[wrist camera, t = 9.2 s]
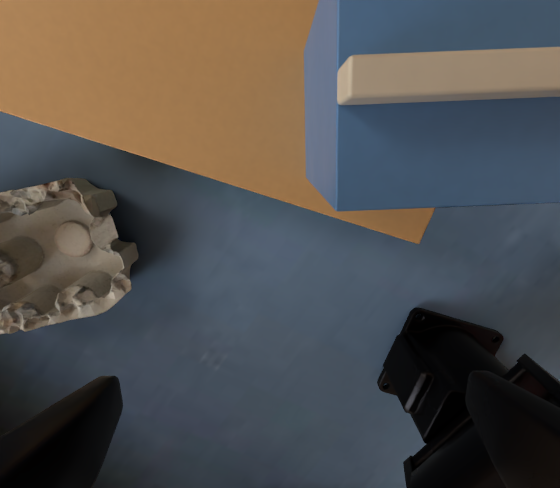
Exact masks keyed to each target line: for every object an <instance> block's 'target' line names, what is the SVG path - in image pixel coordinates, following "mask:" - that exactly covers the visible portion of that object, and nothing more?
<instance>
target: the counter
mask: <svg viewBox="0 0 560 488" xmlns="http://www.w3.org/2000/svg"><path fill="white" fill-rule="evenodd" d="M318 2H319V0H0V111H1V112H4V113H7V114H10V115H14V116H17V117H20V118H23V119H26V120H29V121H32V122H36V123H39V124H42V125H45V126H48V127H51V128H54V129H58V130H61V131H64V132H67V133H70V134H73V135H76V136H80V137H83V138H86V139H89V140H92V141H95V142H98V143H102V144H105V145H108V146H111V147H114V148H117V149H120V150H124V151H127V152H130V153H133V154H136V155H139V156H143V157H146V158H149V159H152V160H155V161H158V162H161V163H165V164H168V165H171V166H174V167H177V168H180V169H183V170H187V171H190V172H193V173H196V174H199V175H202V176H205V177H209V178H212V179H215V180H218V181H221V182H224V183H227V184H231V185H234V186H237V187H240V188H243V189H246V190H249V191H253V192H256V193H259V194H262V195H265V196H268V197H272V198H275V199H278V200H281V201H284V202H287V203H290V204H294V205H297V206H300V207H303V208H306V209H309V210H312V211H316V212H319V213H322V214H325V215H328V216H331V217H334V218H338V219H341V220H344V221H347V222H350V223H353V224H356V225H360V226H363V227H366V228H369V229H372V230H375V231H378V232H382V233H385V234H388V235H391V236H394V237H397V238H400V239H404V240H407V241H410V242H413V243H416V244H419V243H420V241H421V239H422V236H423V234H424V232H425V230H426V227H427V225H428V223H429V221H430V219H431V216H432V214H433V212H434V210H435V208H414V209H389V210H364V211H340V212H337V211H335V209H334V208H333V207H332V206H331V205H330V204H329V203H328V202H327V201H326V199H325V198H324V197H323V196H322V195H321V194H320V193H319V192H318V190H317V189H316V188H315V187H314V186H313V185H312V184H311V183H310V182H309V180H308V179H307V178H306V153H305V93H304V49H305V45H306V42H307V39H308V35H309V32H310V29H311V25H312V22H313V19H314V15H315V12H316V9H317V5H318Z"/></svg>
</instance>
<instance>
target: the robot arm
mask: <svg viewBox="0 0 560 488" xmlns="http://www.w3.org/2000/svg"><path fill="white" fill-rule="evenodd" d="M418 314H421V316H420V317H418V318H416V316H417V315H418ZM495 336H496V337H495ZM493 337H495V339H493V340H492V338H493ZM502 342H503V336H502V335H501V334H500V333H499V332H498V331H496V330H493V329H490V328H486V327H483V326H480V325H476V324H473V323H470V322H466V321H463V320H460V319H456V318H453V317H449V316H446V315H443V314H439V313H436V312H433V311H429V310H426V309H423V308H414V309H413V310H411V312H410V314H409V316H408V318H407V320H406V322H405V324H404V326H403V328H402V330H401V333H400V334H399V335H398V336H397V337H396V339H395V341H394V343H393V345H392V347H391V350H390V352H389V354H388V356H387V358H386V360H385V362H384V364H383V367H384V368H383V371H382V373H381V375H380V377H379V379H378V382H377V383H378V386H379V389H380V390H381V391H383V392H386V393H390V394H393V395H397V396H398V398H399V400H400V402H401V404H402V406H403V409H404V411H405V412H406V413H410V414H411V416H412V418H413V420H414V422H415V424H416V426H417V428H418V430H419V432H420V434H421V436H422V438H423V440H424V442H425V443H427V444H426V445H425V446H424V447H423V448H422V449H421V450H420V451H419V452H418V453H416V454H415V455H414V456H413V457H412V456H410V457H409V458H407V459H406V460H405V461H404V462H403V464H404V472H405V480H406V487H407V488H560V381H558V380H557V379H556V378H555V377H553V376H552V375H551V374H550V373H548V372H547V371H546V370H545V369H543V368H542V367H541V366H540V365H538V364H537V363H536V362H535V361H533V360H532V359H531V358H530V357H528V356H527V355H526V354H523V355H522V356H521V357H520V358H519V359H518V360H517V362H518V363H517V364H516V365H515V366H514V367H513V368H511V369H510V370H508V369H507V368H506V367H505V366H504V365H503V364H502V363H501V362H500V361H499V360H498V359H497V358H496V357H495V354H496V352H497V350H498V349H499V347H500V345H501V343H502ZM384 383H388V384H387V385H383V384H384ZM122 408H123V401H122V395H121V389H120V383H119V379H118V378H117V377H116V376H100V377H98V378H96V379H95V380H93V381H91V382H90V383H88V384H86V385H85V386H83V387H81V388H80V389H78V390H77V391H75V392H73V393H72V394H70V395H68V396H67V397H65V398H63V399H62V400H60V401H58V402H57V403H55V404H53V405H52V406H50V407H49V408H47V409H45V410H44V411H42V412H40V413H39V414H37V415H35V416H34V417H32V418H30V419H29V420H27V421H25V422H24V423H22V424H20V425H19V426H17V427H16V428H14V429H12V430H11V431H9V432H7V433H6V434H4V435H2V436H1V437H0V488H93V486H94V483H95V481H96V479H97V477H98V474H99V472H100V469H101V467H102V464H103V462H104V459H105V456H106V453H107V451H108V448H109V445H110V443H111V440H112V437H113V434H114V432H115V429H116V426H117V424H118V421H119V418H120V415H121V412H122Z"/></svg>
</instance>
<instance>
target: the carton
mask: <svg viewBox="0 0 560 488" xmlns="http://www.w3.org/2000/svg"><path fill="white" fill-rule="evenodd" d="M304 93H305V153H306V178H307V179H308V180H309V182H310V183H311V184H312V185H313V186H314V187H315V188H316V189H317V190H318V192H319V193H320V194H321V195H322V196H323V197H324V198H325V199H326V201H327V202H328V203H329V204H330V205H331V206H332V207H333V208H334V209H335V211H337V212H340V211H364V210H389V209H414V208H439V207H464V206H489V205H514V204H538V203H560V0H319V2H318V5H317V9H316V12H315V15H314V19H313V22H312V25H311V29H310V32H309V35H308V39H307V42H306V45H305V49H304Z"/></svg>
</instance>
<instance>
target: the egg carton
mask: <svg viewBox="0 0 560 488" xmlns="http://www.w3.org/2000/svg"><path fill="white" fill-rule="evenodd" d="M116 206H117V201H116V199H115V195H114V193H113V192H112V190H104V189H98V188H96V187H95V186H93V185H92V184H90V183H89V182H88V181H87V180H86V179H82V178H65V179H62V180H58V181H55V182H50V183H46V184H42V185H37V186H33V187H27V188H24V189H18V190H9V191H5V192H1V193H0V334H4V333H8V334H11V333H14V332H16V331H18V330H23V331H25V332H26V331H29V330H33V329H36V328H39V327H43V326H46V325H51V324H57V323H61V322H64V321H67V320H72V319H78V318H84V317H90V316H95V315H98V314H101V313H103V312H106V311H107V310H109V309H110V308H111V307H113V306H114V305H115V304H116V303H117V302H118V301H119V300H120V299H121V298H122V297H123V296H124V295H125V294H126V293H127V292H129V291H130V290H131V282H130V268H131V265H132V264H133V263H134V262H135V261H136V260H138V256H139V254H138V251H137V247H136V244H135V243H129V242H122V241H120V240H119V239H117V238H118V234H117V230H116V228H115V224H114V221H113V219H112V216H111V215H109V213H110V211H111V210H112V209H114V208H115V207H116Z"/></svg>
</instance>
